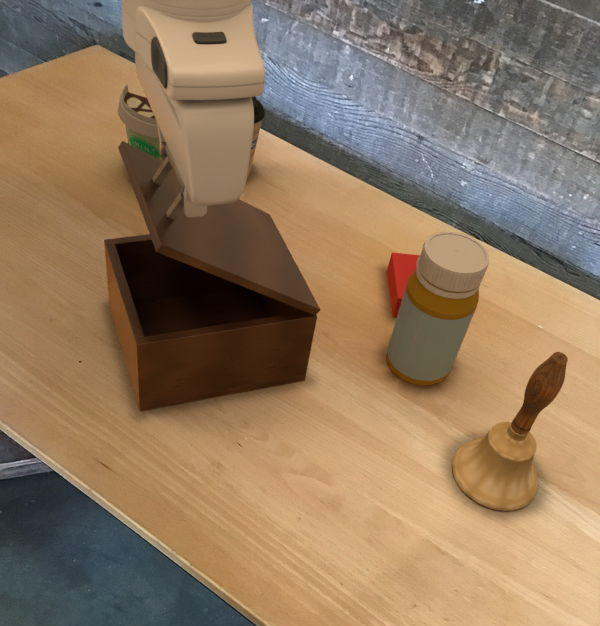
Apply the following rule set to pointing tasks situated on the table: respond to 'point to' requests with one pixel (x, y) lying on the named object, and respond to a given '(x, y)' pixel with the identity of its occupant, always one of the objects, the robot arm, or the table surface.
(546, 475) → the table surface
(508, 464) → the hand bell
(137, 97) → the food container
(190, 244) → the lid
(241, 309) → the chest
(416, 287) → the bottle
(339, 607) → the table surface
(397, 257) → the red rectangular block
